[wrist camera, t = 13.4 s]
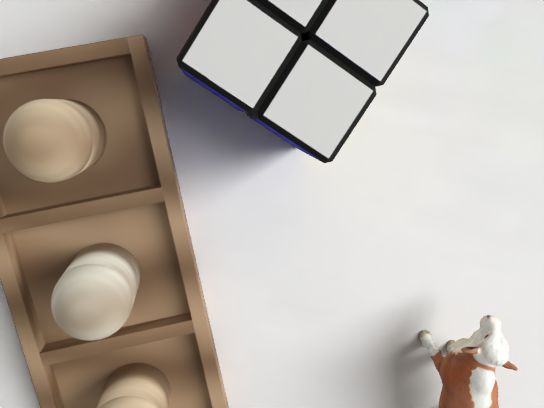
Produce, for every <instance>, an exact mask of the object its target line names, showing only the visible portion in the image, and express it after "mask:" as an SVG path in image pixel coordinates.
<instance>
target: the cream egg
mask: <svg viewBox="0 0 544 408" xmlns="http://www.w3.org/2000/svg"><path fill="white" fill-rule="evenodd" d="M139 283H140V268H139V265H138V263H137V261H136V259H135V258H134V256H133V255H132V254H131V253H130V252H129V251H127V250H126V249H124V248H123V247H121V246H118V245H115V244H111V243H97V244H93V245H91V246H88V247H86V248H84V249H83V250H82V251H80V252H79V253H78V254H77V256H76V257H75V258H74V259H73V261H72V262H71V264H70V265H69V266H68V268H67V269H66V271H65V272H64V273H63V275H62V276H61V277H60V279H59V280H58V282H57V284H56V285H55V287H54V290H53V293H52V297H51V309H52V314H53V317H54V319H55V321H56V323H57V324H58V326H59V327H60V328H61V329H62V330H63V331H64V332H65V333H67V334H68V335H70V336H72V337H74V338H77V339H80V340H87V341H92V340H99V339H103V338H106V337H108V336H110V335H112V334H114V333H115V332H116V331H118V330H119V329H120V328H121V327H122V326H123V325H124V323H125V322H126V321H127V319H128V317H129V315H130V313H131V310H132V307H133V304H134V300H135V297H136V293H137V290H138V287H139Z"/></svg>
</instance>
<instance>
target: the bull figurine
mask: <svg viewBox="0 0 544 408" xmlns="http://www.w3.org/2000/svg"><path fill="white" fill-rule="evenodd" d="M500 327H501V320H500V319H498V318H496V317H494V316H490V315H487V316H484V317H483V318H482V319H481V321H480V329H479V330H477V331H475V332H474V333H473V335H472V336H471V337H470V338H469V339H466V338H462V339H459V340H457V341H456V342H455V341H453V340H451V341H449V342H448V343H447V346H446V348H447V350H448V352H449V353H447V355H446V356H445V357H443V356H442V354H441V352H440V350H438V349H437V348H436V347H435V346H434V342H433V340H432V337H431V334H430V332H428V331H426V330H424V331H422V332H420V334H419V339H420V340H421V342H422V345H423V347H426V348H428V349H429V352H430V356H431V358H432V360H433V361H434V364H435V367H436V369H437V370H438V372H439V374H440V377H441V379H442V383H443V387H442V392H441V396H440V401H439V408H499V407H498V387H497V382H496V379H495V367H496V366H503V367H505V368H508V369H513V370H517V368H516V367H515V366H514V365H513V364H511V363H510V362H508V361H507V360H508V354H509V345H508V343H507V341H506V339H505V338H504V336H503V335H502V332H501V329H500Z"/></svg>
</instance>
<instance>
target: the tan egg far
mask: <svg viewBox="0 0 544 408" xmlns="http://www.w3.org/2000/svg"><path fill="white" fill-rule="evenodd" d="M169 399H170V385H169V382H168V380H167V378H166V376H165V375H164V374H163V373H162V372H161V371H160V370H159V369H158V368H156V367H154V366H152V365H149V364H146V363H130V364H126V365H124V366H121V367H119V368H118V369H116V370H115V371H114V372H113V373H112V374H111V375H110V376H109V378H108V379H107V381H106V384H105V386H104V389H103V392H102V395H101V397H100V400H99V403H98V406H97V408H168V406H169Z"/></svg>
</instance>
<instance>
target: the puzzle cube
mask: <svg viewBox="0 0 544 408" xmlns="http://www.w3.org/2000/svg"><path fill="white" fill-rule="evenodd" d="M428 16H429V13H428V7H427V6H426V5H424V4H423V3H422V2H421V1H419V0H212V1H211V3H210V4H209V6H208V7H207V9H206V11H205V12H204V14H203V16H202V17H201V19H200V21H199V22H198V24H197V25H196V27H195V29H194V30H193V32H192V34H191V35H190V37H189V39H188V40H187V42H186V43H185V45H184V47H183V48H182V50H181V52H180V53H179V55H178V56H177V62H178V66H179V68H180V69H181V70H182V71H183V72H184V73H185V75H186V76H188V77H189V78H191V79H192V80H194V81H196V82H197V83H199V84H200V85H202V86H203V87H205V88H206V89H208V90H209V91H211V92H212V93H214V94H215V95H217V96H218V97H220V98H221V99H223V100H224V101H226V102H227V103H229V104H231V105H232V106H234V107H235V108H237V109H238V110H240V111H244V112H246V114H247V116H249V117H250V118H252V119H253V120H255V121H256V122H258V123H260V124H261V125H263V126H264V127H266V128H267V129H269V130H270V131H272V132H273V133H275V134H276V135H278V136H279V137H281V138H282V139H284V140H285V141H287V142H288V143H290V144H292V145H293V146H295V147H296V148H298V149H300V150H301V151H303V152H305V153H307V154H309V155H310V156H312V157H314V158H316V159H318V160H320V161H322V162H323V163H327V162H331V161H333V159H334V158H335V156H336V155H337V153H338V152H339V150H340V149H341V147H342V146H343V144H344V143H345V141H346V140H347V138H348V137H349V135H350V134H351V132H352V131H353V129H354V128H355V126H356V125H357V123H358V121H359V120H360V118H361V117H362V115H363V114H364V112H365V111H366V109H367V108H368V106H369V105H370V103H371V102H372V100H373V99H374V97H375V96H376V89H375V86H380V85H383V84H384V83H385V81H386V80H387V78H388V77H389V75H390V74H391V72H392V71H393V69H394V68H395V66H396V65H397V63H398V62H399V60H400V59H401V57H402V56H403V54H404V52H405V51H406V49H407V48H408V46H409V45H410V43H411V42H412V40H413V39H414V37H415V36H416V34H417V33H418V31H419V30H420V28H421V27H422V25H423V24H424V22H425V21H426V19H427V18H428Z"/></svg>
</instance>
